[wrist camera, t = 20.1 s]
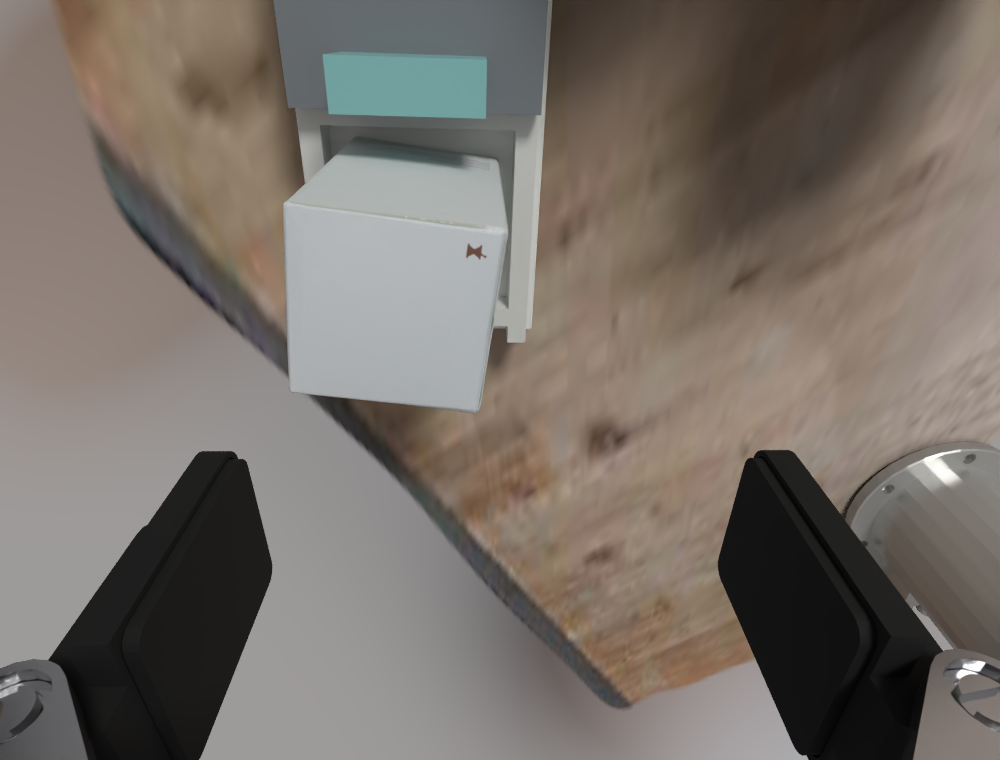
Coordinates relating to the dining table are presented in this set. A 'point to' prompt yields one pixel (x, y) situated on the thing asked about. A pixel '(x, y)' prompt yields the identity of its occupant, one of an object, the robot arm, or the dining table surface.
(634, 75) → the dining table surface
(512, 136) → the open white tray
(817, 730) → the robot arm
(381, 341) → the supplement box
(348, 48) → the gray and teal box
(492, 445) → the dining table surface
